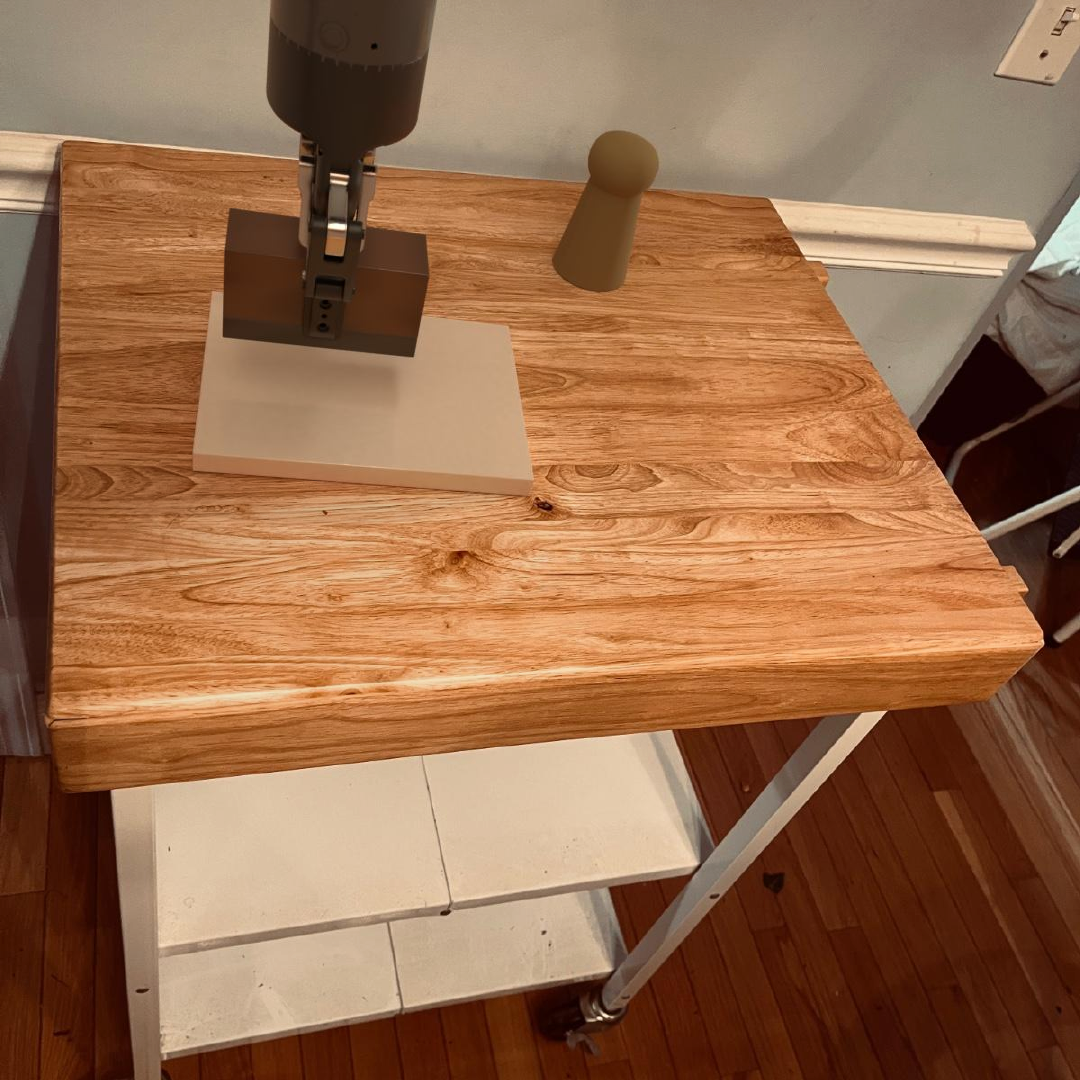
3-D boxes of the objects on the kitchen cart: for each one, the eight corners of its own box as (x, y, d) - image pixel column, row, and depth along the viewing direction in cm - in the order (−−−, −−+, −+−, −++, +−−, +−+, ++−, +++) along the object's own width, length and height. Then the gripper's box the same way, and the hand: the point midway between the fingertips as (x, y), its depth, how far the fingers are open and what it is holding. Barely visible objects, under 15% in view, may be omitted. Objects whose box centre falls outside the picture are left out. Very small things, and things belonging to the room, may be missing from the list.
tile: (192, 471, 61) (192, 452, 60) (211, 308, 71) (211, 290, 70) (528, 496, 67) (534, 480, 65) (504, 341, 76) (509, 325, 75)
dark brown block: (222, 338, 61) (224, 249, 57) (227, 295, 64) (229, 207, 59) (414, 358, 64) (429, 275, 59) (411, 316, 66) (426, 233, 62)
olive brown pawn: (614, 248, 88) (657, 123, 80) (634, 294, 84) (680, 168, 76) (544, 242, 86) (581, 114, 78) (562, 289, 82) (602, 159, 74)
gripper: (439, 107, 47) (388, 398, 59) (423, -29, 56) (382, 248, 68) (262, 78, 45) (248, 385, 57) (276, -58, 54) (261, 232, 66)
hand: (321, 309), depth 63 cm, fingers closed on dark brown block, 4 cm apart
